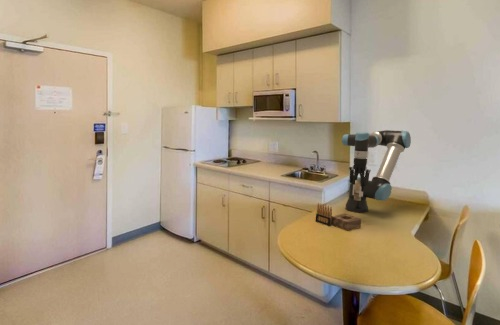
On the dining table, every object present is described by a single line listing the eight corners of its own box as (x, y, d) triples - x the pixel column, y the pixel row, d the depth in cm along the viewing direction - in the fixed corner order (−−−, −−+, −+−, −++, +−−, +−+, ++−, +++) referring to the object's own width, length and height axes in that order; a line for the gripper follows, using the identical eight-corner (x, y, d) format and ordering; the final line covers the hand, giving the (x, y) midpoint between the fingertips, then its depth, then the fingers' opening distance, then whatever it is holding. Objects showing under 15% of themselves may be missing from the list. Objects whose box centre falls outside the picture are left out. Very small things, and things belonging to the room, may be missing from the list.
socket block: (330, 224, 171) (331, 216, 170) (344, 221, 177) (344, 213, 177) (347, 230, 161) (347, 222, 160) (360, 227, 167) (361, 218, 167)
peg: (352, 199, 176) (353, 180, 174) (356, 198, 178) (357, 179, 176) (358, 200, 172) (359, 181, 171) (362, 200, 175) (363, 180, 173)
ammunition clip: (315, 221, 176) (316, 202, 174) (317, 220, 177) (318, 202, 175) (330, 226, 168) (331, 206, 166) (332, 225, 169) (333, 206, 167)
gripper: (344, 156, 177) (342, 193, 180) (369, 159, 163) (366, 199, 166) (352, 156, 181) (349, 191, 184) (377, 159, 167) (373, 198, 170)
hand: (357, 195), depth 175 cm, fingers closed on peg, 4 cm apart
